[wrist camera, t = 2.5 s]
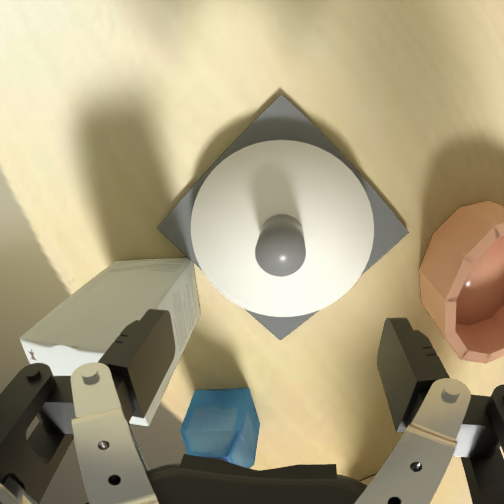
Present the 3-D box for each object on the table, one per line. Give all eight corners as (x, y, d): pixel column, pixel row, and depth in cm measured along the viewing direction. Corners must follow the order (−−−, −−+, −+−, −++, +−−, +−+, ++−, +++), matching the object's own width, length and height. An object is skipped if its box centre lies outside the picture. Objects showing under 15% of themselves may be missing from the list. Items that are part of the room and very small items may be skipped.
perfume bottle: (248, 387, 33) (230, 479, 21) (259, 423, 34) (247, 508, 23) (195, 390, 34) (163, 474, 22) (210, 424, 36) (187, 504, 24)
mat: (280, 336, 30) (280, 340, 29) (159, 226, 28) (157, 228, 27) (406, 230, 25) (408, 232, 25) (281, 95, 23) (281, 94, 22)
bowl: (455, 348, 28) (476, 383, 23) (394, 269, 26) (416, 300, 21) (536, 269, 24) (567, 292, 19) (490, 173, 22) (530, 184, 17)
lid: (280, 333, 29) (277, 374, 24) (164, 227, 27) (135, 250, 21) (401, 232, 25) (427, 256, 19) (281, 103, 23) (279, 91, 17)
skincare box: (128, 311, 31) (47, 409, 17) (115, 255, 29) (12, 337, 15) (206, 313, 30) (150, 434, 16) (197, 252, 28) (118, 355, 14)
